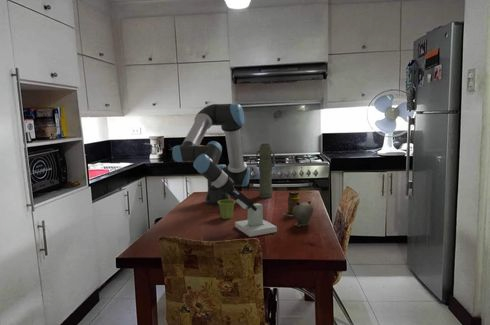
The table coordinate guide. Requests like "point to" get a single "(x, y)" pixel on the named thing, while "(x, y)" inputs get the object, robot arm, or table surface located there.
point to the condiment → (292, 202)
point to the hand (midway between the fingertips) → (252, 210)
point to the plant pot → (226, 208)
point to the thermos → (265, 170)
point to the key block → (255, 216)
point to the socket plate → (255, 228)
